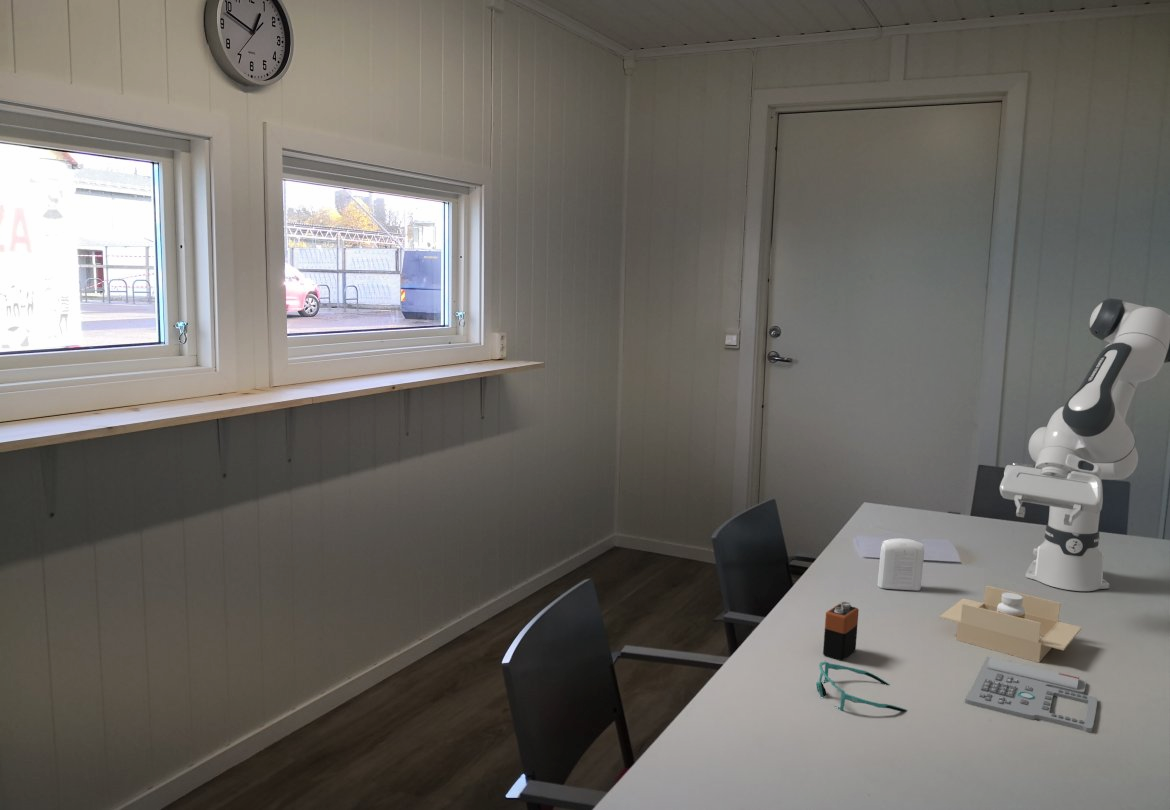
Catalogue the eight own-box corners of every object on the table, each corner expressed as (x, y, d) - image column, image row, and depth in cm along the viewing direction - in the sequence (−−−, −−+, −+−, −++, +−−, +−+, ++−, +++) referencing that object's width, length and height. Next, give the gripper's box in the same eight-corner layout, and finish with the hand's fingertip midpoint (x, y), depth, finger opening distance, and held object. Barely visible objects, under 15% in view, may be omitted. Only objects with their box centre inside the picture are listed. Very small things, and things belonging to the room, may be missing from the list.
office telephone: (986, 649, 182) (1101, 675, 171) (985, 662, 182) (1099, 688, 172) (965, 691, 162) (1093, 723, 152) (964, 705, 162) (1091, 738, 152)
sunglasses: (806, 678, 171) (811, 653, 170) (885, 689, 171) (890, 664, 170) (823, 714, 157) (828, 686, 157) (909, 726, 157) (915, 699, 156)
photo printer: (917, 586, 224) (922, 537, 222) (923, 592, 220) (927, 542, 218) (875, 584, 225) (879, 535, 223) (879, 589, 221) (883, 540, 219)
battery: (856, 651, 184) (859, 603, 182) (842, 661, 178) (846, 612, 177) (835, 645, 186) (839, 598, 185) (821, 655, 181) (825, 607, 180)
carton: (962, 614, 206) (965, 580, 204) (1080, 644, 190) (1084, 608, 189) (937, 634, 194) (940, 598, 192) (1061, 668, 178) (1065, 629, 177)
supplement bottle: (1025, 646, 189) (1029, 601, 187) (997, 643, 190) (1001, 598, 188) (1018, 636, 194) (1022, 592, 193) (991, 633, 195) (995, 590, 194)
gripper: (1006, 453, 207) (990, 502, 201) (1108, 467, 195) (1095, 520, 189) (1008, 469, 211) (993, 518, 205) (1108, 484, 199) (1096, 536, 193)
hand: (1043, 519), depth 197 cm, fingers open, 8 cm apart
